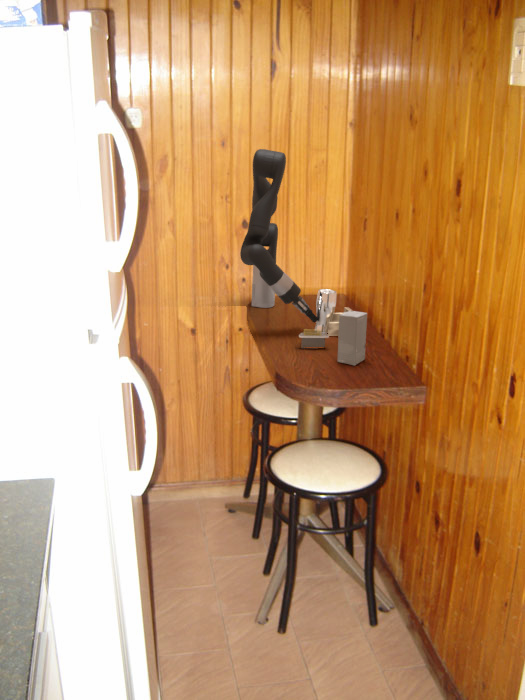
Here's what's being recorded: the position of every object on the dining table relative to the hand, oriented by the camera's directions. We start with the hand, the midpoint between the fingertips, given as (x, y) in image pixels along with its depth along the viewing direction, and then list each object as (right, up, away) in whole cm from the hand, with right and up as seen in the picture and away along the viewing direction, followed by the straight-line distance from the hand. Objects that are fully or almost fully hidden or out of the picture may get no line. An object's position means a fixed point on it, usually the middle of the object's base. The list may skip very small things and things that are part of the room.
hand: (315, 320), depth 262 cm
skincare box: (+9, -14, -27) cm, 32 cm away
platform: (-2, -10, -15) cm, 19 cm away
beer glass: (+3, -4, +2) cm, 5 cm away
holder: (+8, -4, +4) cm, 9 cm away
